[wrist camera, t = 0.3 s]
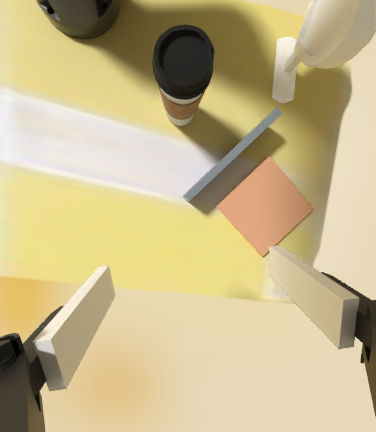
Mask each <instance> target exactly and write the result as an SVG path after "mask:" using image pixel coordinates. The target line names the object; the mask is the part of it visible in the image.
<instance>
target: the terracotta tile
mask: <svg viewBox="0 0 376 432" xmlns="http://www.w3.org/2000/svg"><path fill="white" fill-rule="evenodd" d="M216 207H217V208H218V209H219V210H220V211H221V212H222V214H223V215H224V216H225V217H226V218H227V219H228V220H229V221H230V222H231V223H232V224H233V226H234V227H235V228H236V229H237V230H238V231H239V232H240V233H241V234H242V235H243V236H244V238H245V239H246V240H247V241H248V242H249V243H250V244H251V245H252V246H253V247H254V248H255V250H256V251H257V252H258V253H259V254H260V255H261V256H264V255H265V254H266V253H267V252H268V251H269V246H275V245H276V244H277V243H278V242H279V241H280V240H281V239H282V238H283V237H284V236H285V235H286V234H287V233H289V232H290V231H291V230H292V229H293V228H294V227H295V226H296V225H297V224H298V223H299V222H300V221H301V220H302V219H303V218H304V217H306V216H307V215H308V214H309V213H310V212H311V211H312V210H313V208H312V206H311V205H310V204H309V203H308V202H307V200H306V199H305V198H304V197H303V196H302V194H301V193H300V192H299V191H298V190H297V188H296V187H295V186H294V185H293V184H292V182H291V181H290V180H289V179H288V177H287V176H286V175H285V174H284V173H283V171H282V170H281V169H280V168H279V167H278V165H277V164H276V163H275V162H274V161H273V159H272V158H271V157H270V156H269V157H267V158H266V159H265V160H264V161H263V162H262V163H261V164H260V165H259V166H258V167H257V168H255V169H254V170H253V171H252V172H251V173H250V174H249V175H248V176H247V177H246V178H245V179H244V180H243V181H242V182H241V183H240V184H239V185H238V186H236V187H235V188H234V189H233V190H232V191H231V192H230V193H229V194H228V195H227V196H226V197H225V198H224V199H223V200H222V201H221V202H220V203H219V204H217V205H216Z"/></svg>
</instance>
